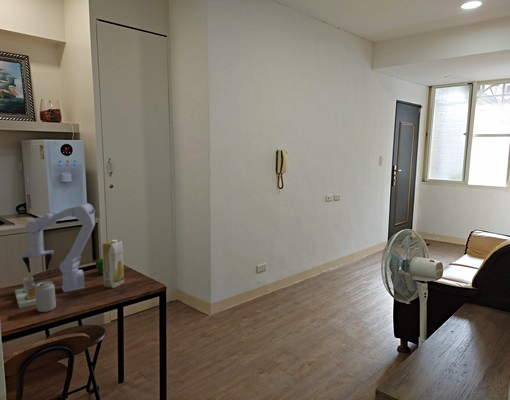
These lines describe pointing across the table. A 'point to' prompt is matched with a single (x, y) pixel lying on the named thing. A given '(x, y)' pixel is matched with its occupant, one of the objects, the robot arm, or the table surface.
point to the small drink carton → (27, 282)
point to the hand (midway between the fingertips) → (38, 270)
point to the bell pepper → (99, 265)
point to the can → (45, 296)
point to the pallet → (23, 299)
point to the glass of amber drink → (30, 291)
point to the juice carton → (113, 263)
